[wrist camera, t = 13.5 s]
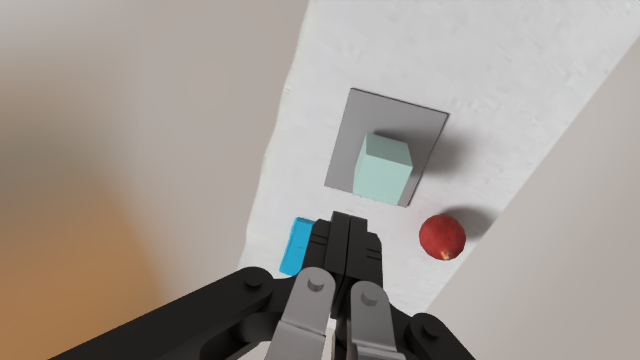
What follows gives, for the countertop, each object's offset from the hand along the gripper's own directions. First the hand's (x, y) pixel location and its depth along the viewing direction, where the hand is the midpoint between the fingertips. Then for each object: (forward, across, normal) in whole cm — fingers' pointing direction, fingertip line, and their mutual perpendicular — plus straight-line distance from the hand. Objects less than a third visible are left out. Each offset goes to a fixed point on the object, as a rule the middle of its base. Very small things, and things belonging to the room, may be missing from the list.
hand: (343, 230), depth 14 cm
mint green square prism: (+27, -5, +8) cm, 29 cm away
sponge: (+29, +2, +28) cm, 40 cm away
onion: (+29, -16, +16) cm, 37 cm away
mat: (+29, -5, +8) cm, 30 cm away
